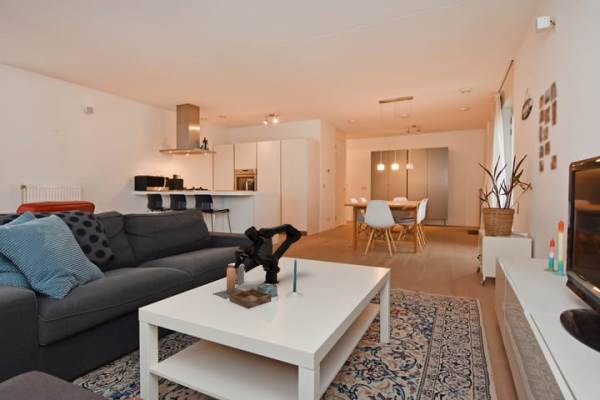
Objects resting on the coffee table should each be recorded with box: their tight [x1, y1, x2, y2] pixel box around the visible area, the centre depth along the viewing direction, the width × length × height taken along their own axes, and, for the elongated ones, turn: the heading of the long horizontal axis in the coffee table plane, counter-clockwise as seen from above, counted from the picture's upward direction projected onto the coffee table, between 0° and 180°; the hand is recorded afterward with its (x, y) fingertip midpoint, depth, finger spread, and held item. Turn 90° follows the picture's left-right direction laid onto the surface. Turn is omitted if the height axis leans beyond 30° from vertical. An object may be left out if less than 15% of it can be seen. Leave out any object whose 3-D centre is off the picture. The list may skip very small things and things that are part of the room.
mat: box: [212, 287, 244, 300], centre depth 163 cm, size 14×11×1 cm
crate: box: [229, 288, 272, 310], centre depth 152 cm, size 14×14×4 cm
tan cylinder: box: [226, 267, 236, 294], centre depth 163 cm, size 4×4×12 cm
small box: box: [227, 262, 245, 286], centre depth 183 cm, size 8×6×10 cm
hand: (239, 270), depth 167 cm, fingers open, 9 cm apart
